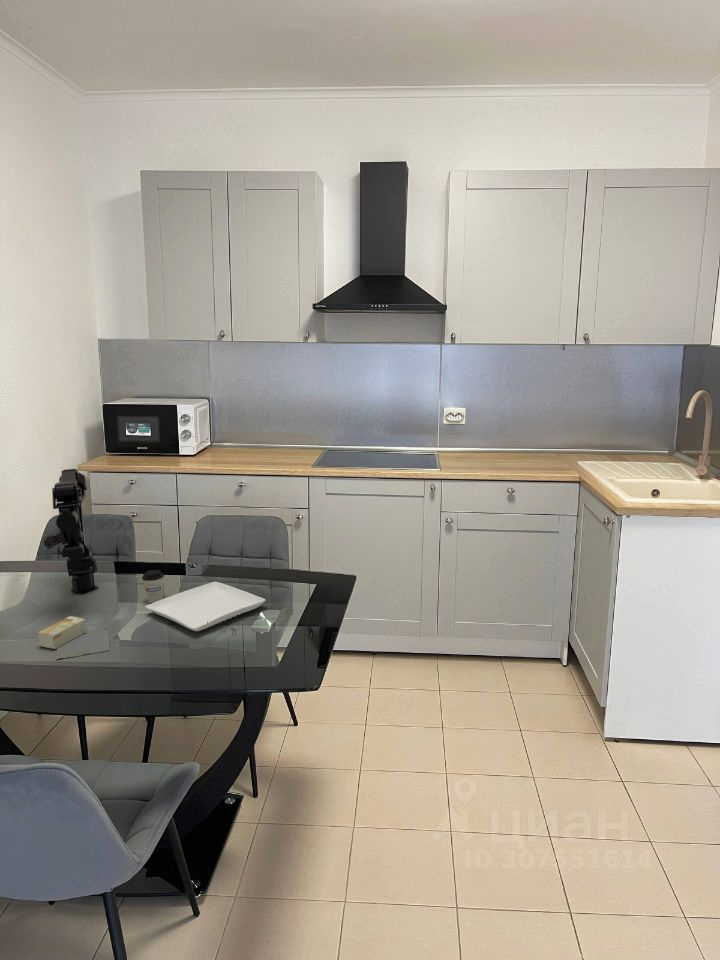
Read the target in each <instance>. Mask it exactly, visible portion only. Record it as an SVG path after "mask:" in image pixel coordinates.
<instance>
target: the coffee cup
mask: <svg viewBox="0 0 720 960" xmlns="http://www.w3.org/2000/svg"><path fill="white" fill-rule="evenodd" d="M141 576H142V577H141V579H142V582H143V585H144V589H145V593H146V597H147V601H148V604H150V603H154V602H157V601H159V600H162V599H164V577H165V575H164V573H163V572H162V571H161V570H160V569H151V570H147V571H145V573H144V574H143V575H141Z"/></svg>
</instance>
